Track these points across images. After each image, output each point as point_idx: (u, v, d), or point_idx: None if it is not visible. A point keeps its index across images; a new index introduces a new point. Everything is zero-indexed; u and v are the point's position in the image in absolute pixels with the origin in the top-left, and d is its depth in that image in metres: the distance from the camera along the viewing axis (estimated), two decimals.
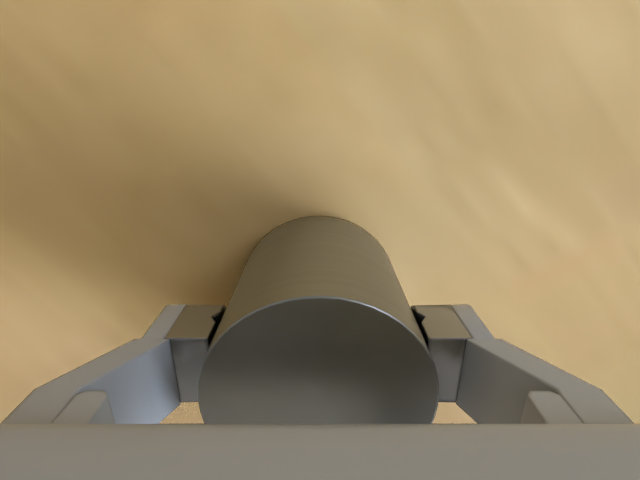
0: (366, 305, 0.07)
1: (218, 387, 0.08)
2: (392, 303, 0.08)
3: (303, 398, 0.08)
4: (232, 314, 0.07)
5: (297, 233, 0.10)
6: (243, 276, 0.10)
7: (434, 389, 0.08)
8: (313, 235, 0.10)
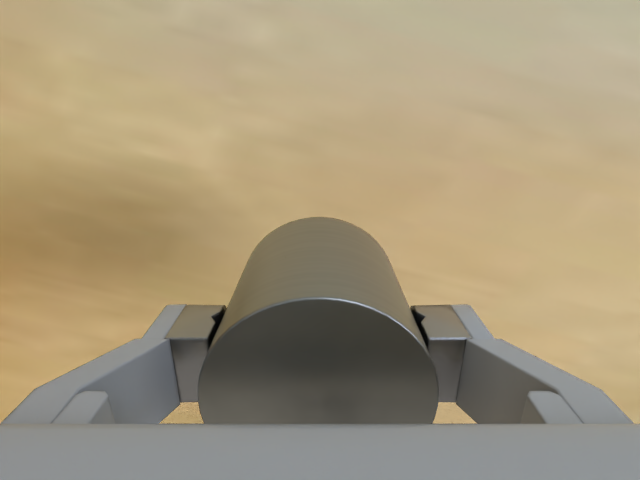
0: (365, 306, 0.07)
1: (217, 388, 0.08)
2: (392, 304, 0.08)
3: (302, 399, 0.08)
4: (232, 315, 0.08)
5: (297, 234, 0.10)
6: (243, 277, 0.10)
7: (434, 390, 0.08)
8: (313, 236, 0.10)
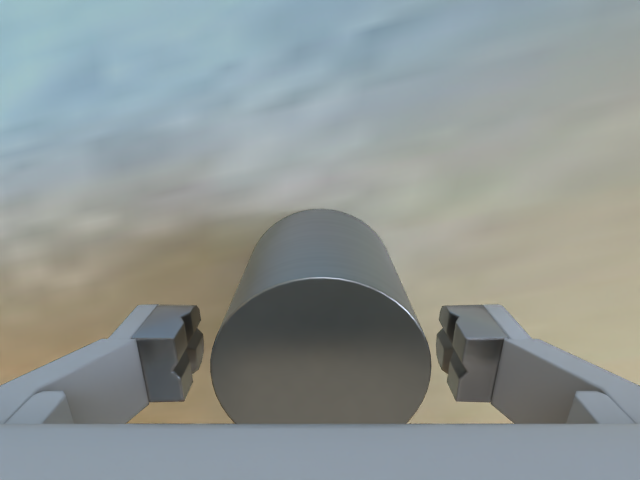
0: (364, 286, 0.08)
1: (229, 361, 0.08)
2: (388, 285, 0.08)
3: (307, 372, 0.08)
4: (242, 295, 0.08)
5: (300, 224, 0.11)
6: (250, 264, 0.10)
7: (426, 364, 0.08)
8: (315, 225, 0.11)
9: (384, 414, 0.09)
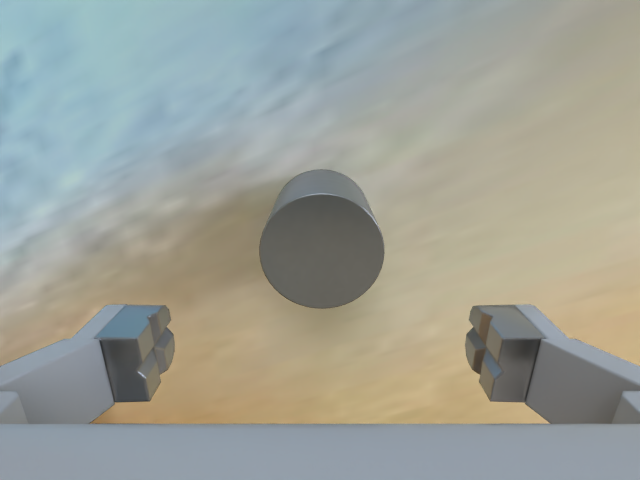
0: (334, 195, 0.14)
1: (269, 253, 0.15)
2: (350, 196, 0.15)
3: (313, 253, 0.15)
4: (270, 215, 0.15)
5: (299, 179, 0.17)
6: (273, 207, 0.17)
7: (379, 236, 0.15)
8: (308, 177, 0.17)
9: (363, 273, 0.15)
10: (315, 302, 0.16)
